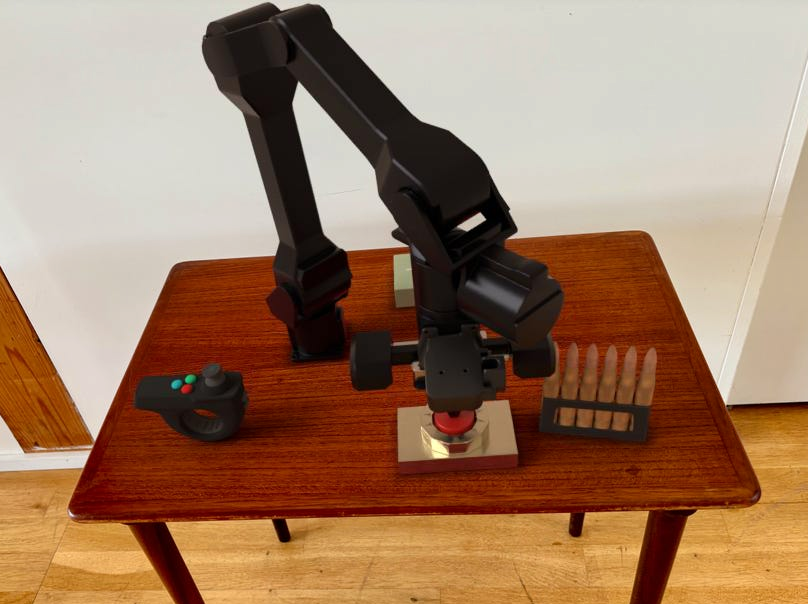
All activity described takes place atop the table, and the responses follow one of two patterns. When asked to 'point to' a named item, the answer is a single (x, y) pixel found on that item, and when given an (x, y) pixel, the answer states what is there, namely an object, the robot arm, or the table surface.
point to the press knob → (454, 422)
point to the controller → (196, 401)
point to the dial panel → (403, 281)
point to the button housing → (456, 441)
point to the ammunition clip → (599, 396)
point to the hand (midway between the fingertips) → (453, 414)
